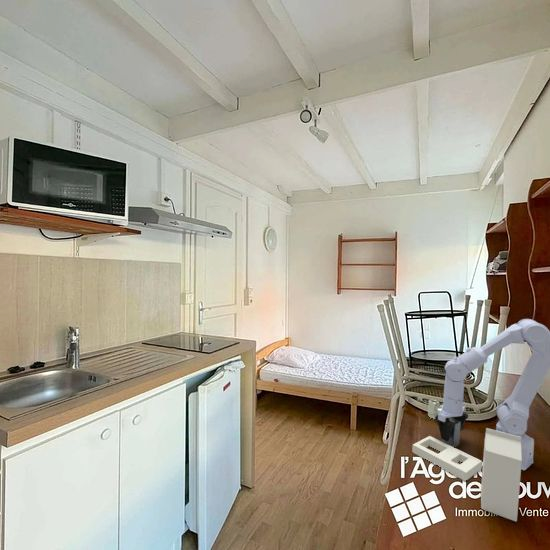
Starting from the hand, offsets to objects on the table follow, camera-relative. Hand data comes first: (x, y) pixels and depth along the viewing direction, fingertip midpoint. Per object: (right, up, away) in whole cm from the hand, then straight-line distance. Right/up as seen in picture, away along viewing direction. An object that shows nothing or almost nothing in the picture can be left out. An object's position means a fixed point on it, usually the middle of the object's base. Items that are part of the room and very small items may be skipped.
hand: (450, 436), depth 109 cm
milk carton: (-3, -4, -28) cm, 28 cm away
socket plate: (-7, -3, -9) cm, 12 cm away
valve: (+6, -2, +16) cm, 17 cm away
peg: (0, -2, 0) cm, 2 cm away
